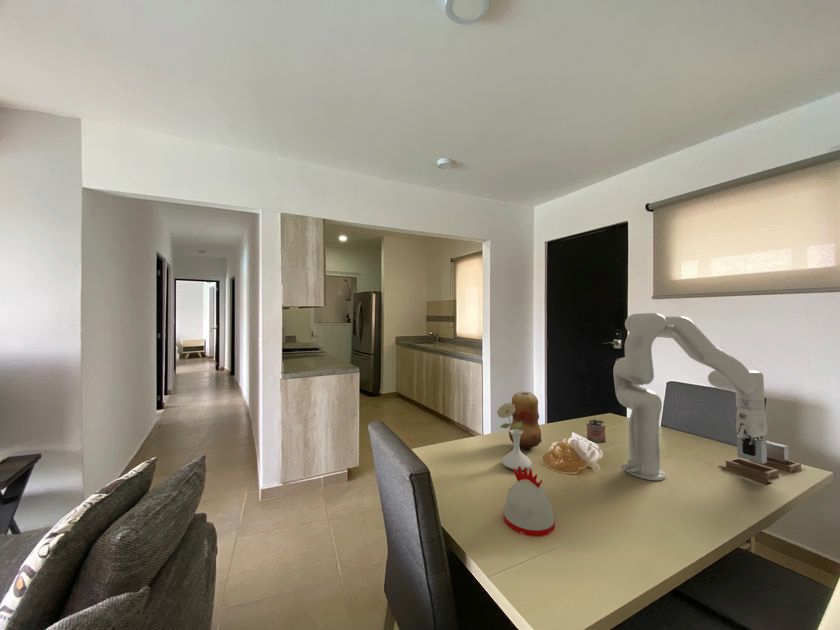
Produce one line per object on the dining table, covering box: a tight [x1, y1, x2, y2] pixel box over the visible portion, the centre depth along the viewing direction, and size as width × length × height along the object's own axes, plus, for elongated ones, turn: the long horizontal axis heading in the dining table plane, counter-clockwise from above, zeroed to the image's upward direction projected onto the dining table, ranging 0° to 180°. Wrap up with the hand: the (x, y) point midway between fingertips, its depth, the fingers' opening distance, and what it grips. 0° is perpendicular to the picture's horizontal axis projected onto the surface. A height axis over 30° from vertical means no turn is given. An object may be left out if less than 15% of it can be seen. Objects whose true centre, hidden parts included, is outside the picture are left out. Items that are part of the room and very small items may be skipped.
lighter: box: [586, 418, 607, 443], centre depth 159 cm, size 8×3×10 cm, turn 62°
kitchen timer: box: [502, 466, 556, 538], centre depth 95 cm, size 14×14×15 cm
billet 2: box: [766, 440, 790, 465], centre depth 128 cm, size 3×7×8 cm, turn 20°
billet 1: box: [736, 434, 767, 464], centre depth 123 cm, size 3×7×8 cm, turn 20°
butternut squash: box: [508, 391, 542, 450], centre depth 149 cm, size 14×13×25 cm
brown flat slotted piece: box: [720, 457, 806, 486], centre depth 125 cm, size 26×13×4 cm, turn 110°
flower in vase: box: [496, 402, 533, 471], centre depth 130 cm, size 13×11×25 cm
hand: (751, 453), depth 123 cm, fingers closed on billet 1, 3 cm apart
